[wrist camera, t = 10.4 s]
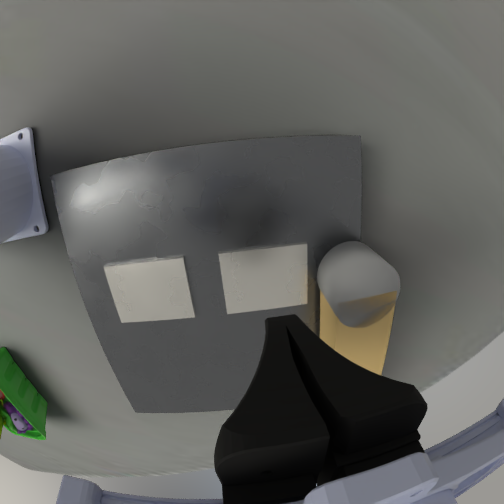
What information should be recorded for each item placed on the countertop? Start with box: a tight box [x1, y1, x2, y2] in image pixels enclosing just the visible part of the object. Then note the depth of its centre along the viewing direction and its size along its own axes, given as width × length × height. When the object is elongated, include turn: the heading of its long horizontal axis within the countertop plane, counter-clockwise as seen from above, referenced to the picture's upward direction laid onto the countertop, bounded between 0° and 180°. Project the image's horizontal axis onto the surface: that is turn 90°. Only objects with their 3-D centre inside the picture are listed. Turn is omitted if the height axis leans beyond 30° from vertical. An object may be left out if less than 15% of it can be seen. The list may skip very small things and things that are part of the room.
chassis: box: [50, 135, 362, 413], centre depth 19 cm, size 18×20×4 cm
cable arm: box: [317, 241, 401, 375], centre depth 18 cm, size 18×4×3 cm, turn 6°
